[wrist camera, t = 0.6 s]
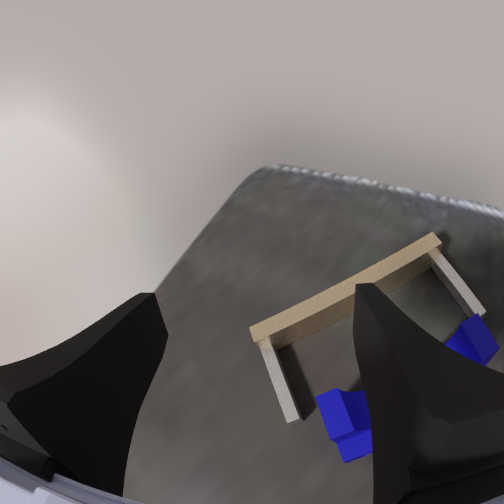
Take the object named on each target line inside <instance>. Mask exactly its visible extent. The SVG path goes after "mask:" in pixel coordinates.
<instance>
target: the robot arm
mask: <svg viewBox="0 0 504 504" xmlns="http://www.w3.org/2000/svg"><path fill="white" fill-rule="evenodd" d="M353 337H354V345H355V353H356V358H357V362H358V366H359V370H360V374H361V378H362V383H363V387H364V391H365V395H366V400H367V404H368V409H369V415H370V425H371V436H372V451H373V479H374V496H373V504H504V374H503V373H500V372H497V371H495V370H492V369H490V368H488V367H486V366H483V365H481V364H479V363H477V362H475V361H473V360H471V359H469V358H467V357H465V356H463V355H461V354H460V353H458V352H456V351H454V350H452V349H451V348H449V347H448V346H446V345H444V344H443V343H441V342H440V341H439V340H437V339H436V338H434V337H433V336H431V335H430V334H429V333H427V332H426V331H425V330H423V329H422V328H421V327H420V326H418V325H417V324H416V323H415V322H414V321H412V320H411V319H410V318H409V317H408V316H407V315H405V314H404V313H403V312H402V311H401V310H400V309H399V308H398V307H397V306H396V305H395V304H394V303H393V302H392V301H391V300H390V299H389V298H388V297H387V296H386V295H385V294H384V293H383V292H382V291H381V290H380V289H379V288H378V287H377V286H376V285H375V284H374V283H359V284H355V303H354V320H353ZM167 339H168V332H167V329H166V327H165V324H164V321H163V318H162V315H161V312H160V309H159V305H158V302H157V299H156V296H155V293H139V294H137V295H136V296H134V297H132V298H131V299H129V300H127V301H126V302H125V303H123V304H122V305H120V306H119V307H117V308H116V309H114V310H113V311H111V312H110V313H109V314H107V315H106V316H104V317H103V318H101V319H100V320H98V321H97V322H95V323H94V324H92V325H91V326H89V327H88V328H86V329H85V330H83V331H81V332H80V333H78V334H77V335H75V336H73V337H72V338H70V339H68V340H66V341H64V342H63V343H60V344H59V345H57V346H55V347H53V348H50V349H48V350H46V351H43V352H41V353H39V354H37V355H35V356H32V357H29V358H27V359H24V360H21V361H18V362H14V363H11V364H8V365H3V366H0V504H145V503H142V502H138V501H134V500H130V499H127V498H123V486H124V477H125V470H126V464H127V458H128V453H129V448H130V444H131V439H132V435H133V431H134V428H135V424H136V420H137V417H138V414H139V411H140V408H141V405H142V403H143V400H144V398H145V396H146V393H147V391H148V389H149V387H150V384H151V382H152V380H153V378H154V375H155V373H156V371H157V369H158V366H159V364H160V362H161V359H162V357H163V354H164V350H165V347H166V343H167Z"/></svg>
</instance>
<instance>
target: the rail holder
mask: <svg viewBox="0 0 504 504" xmlns="http://www.w3.org/2000/svg"><path fill="white" fill-rule="evenodd" d="M441 248H442V242H441V241H440V240H439V239H438V237H437V236H436V235H435V234H434V233H433V232H431V233H429V234H428V235H426V236H424V237H423V238H421V239H419V240H417V241H416V242H414V243H412V244H410V245H409V246H407V247H405V248H403V249H402V250H400V251H398V252H396V253H394V254H393V255H391V256H389V257H387V258H385V259H384V260H382V261H380V262H378V263H376V264H375V265H373V266H371V267H369V268H367V269H365V270H363V271H362V272H360V273H358V274H356V275H354V276H352V277H350V278H348V279H346V280H345V281H343V282H341V283H339V284H337V285H335V286H333V287H331V288H329V289H327V290H325V291H323V292H321V293H319V294H317V295H315V296H313V297H311V298H309V299H307V300H305V301H303V302H301V303H299V304H297V305H295V306H293V307H291V308H289V309H287V310H285V311H283V312H281V313H279V314H277V315H275V316H272V317H270V318H268V319H266V320H264V321H262V322H260V323H258V324H255V325H253V326H251V327H249V328H250V331H251V334H252V337H253V340H254V342H255V344H256V345H257V346H258V347H259V348H260V349H261V352H262V355H263V357H264V360H265V363H266V366H267V369H268V371H269V374H270V377H271V380H272V383H273V385H274V388H275V391H276V394H277V396H278V399H279V402H280V405H281V407H282V410H283V413H284V416H285V418H286V421H287V423H288V424H290V425H292V426H293V425H296V424H298V423H301V422H303V421H304V420H303V417H302V415H301V412H300V410H299V407H298V405H297V402H296V399H295V397H294V394H293V392H292V389H291V387H290V384H289V381H288V379H287V376H286V374H285V371H284V369H283V366H282V363H281V361H280V358H279V356H278V353H277V350H278V349H281V348H283V347H285V346H287V345H289V344H291V343H293V342H296V341H298V340H300V339H302V338H304V337H306V336H308V335H310V334H312V333H314V332H316V331H318V330H320V329H322V328H324V327H326V326H328V325H330V324H332V323H334V322H336V321H338V320H340V319H342V318H344V317H346V316H348V315H350V314H352V313H353V312H354V303H355V284H359V283H374V284H375V285H376V286H377V287H378V288H379V289H380V290H381V291H382V292H383V293H384V294H385V295H386V294H388V293H390V292H392V291H393V290H395V289H397V288H399V287H400V286H402V285H404V284H406V283H407V282H409V281H411V280H412V279H414V278H416V277H417V276H419V275H421V274H422V273H424V272H426V271H427V270H429V269H431V268H432V270H433V271H434V272H435V273H436V275H437V276H438V277H439V279H440V280H441V281H442V282H443V284H444V285H445V286H446V288H447V289H448V290H449V292H450V293H451V294H452V296H453V297H454V298H455V300H456V301H457V303H458V304H459V305H460V307H461V308H462V309H463V311H464V312H465V314H466V315H467V317H468V318H470V317H472V316H473V315H475V314H476V313H478V314H479V316H480V317H481V319H483V317H484V315H485V313H486V310H485V309H484V308H483V306H482V305H481V303H480V302H479V301H478V299H477V298H476V297H475V295H474V294H473V293H472V291H471V290H470V289H469V288H468V286H467V285H466V284H465V282H464V281H463V280H462V279H461V277H460V276H459V275H458V274H457V272H456V271H455V270H454V269H453V267H452V266H451V265H450V264H449V263H448V261H447V260H446V259H445V258H444V257H443V255H442V254H441Z"/></svg>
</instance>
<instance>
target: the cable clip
mask: <svg viewBox="0 0 504 504" xmlns="http://www.w3.org/2000/svg"><path fill="white" fill-rule="evenodd" d="M445 345H446V346H448V347H449V348H451V349H452V350H454V351H456V352H458V353H460V354H461V355H463V356H465V357H467V358H469V359H471V360H473V361H475V362H477V363H479V364H481V365H483V366H486V364H487V363H488V362H489V361H490V360H491V358H492V357H493V356H494V355H495V353H496V352H497V351H498V349H499V347H498V345H497V343H496V341H495V340H494V338H493V336H492V335H491V333H490V331H489V330H488V328H487V327H486V325H485V323H484V322H483V320H482V319H481V317H480V316H479V314H478V313H476V314H475V315H473V316H472V317H470V318H468V319H467V320H465V321H464V322H462V323H461V324H460V326H459V328H458V329H457V331H456V332H455V334H454V335H453V336H452V337H451V338H450V340H449V341H448V342H447V343H446V344H445ZM315 398H316V400H317V403H318V406H319V409H320V412H321V414H322V417H323V420H324V423H325V426H326V429H327V431H328V434H329V437H330V440H332V441H334V442H336V443H337V445H338V448H339V451H340V454H341V457H342V459H343V462H346V463H348V462H350V461H353V460H355V459H358V458H360V457H363V456H365V455H368V454H370V453H372V452H373V451H372V436H371V425H370V415H369V409H368V404H367V400H366V395H365V391H364V390H361V391H355V392H345V391H341V390H339V389H338V388H336V389H333V390H331V391H329V392H326V393H324V394H321V395H319V396H316V397H315Z"/></svg>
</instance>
